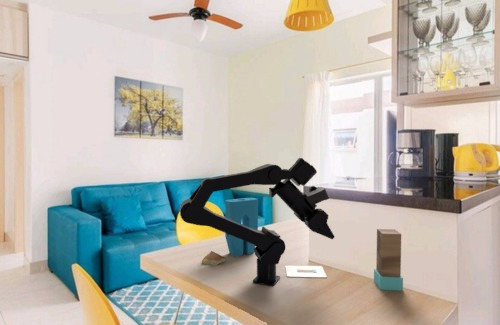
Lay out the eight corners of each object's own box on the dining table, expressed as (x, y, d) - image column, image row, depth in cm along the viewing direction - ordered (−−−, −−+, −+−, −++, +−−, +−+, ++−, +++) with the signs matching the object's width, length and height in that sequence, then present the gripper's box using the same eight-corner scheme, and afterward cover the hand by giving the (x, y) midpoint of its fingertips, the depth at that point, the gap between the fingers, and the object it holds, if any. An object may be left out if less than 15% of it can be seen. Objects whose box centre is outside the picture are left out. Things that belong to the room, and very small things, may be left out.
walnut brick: (400, 277, 88) (401, 234, 87) (381, 276, 88) (382, 233, 88) (394, 270, 93) (394, 229, 92) (376, 269, 93) (377, 229, 93)
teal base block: (402, 290, 87) (403, 278, 87) (380, 289, 88) (380, 277, 88) (395, 281, 93) (395, 269, 93) (373, 280, 94) (374, 268, 94)
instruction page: (327, 277, 96) (327, 276, 96) (287, 277, 97) (287, 276, 97) (321, 266, 105) (321, 265, 105) (285, 266, 106) (285, 265, 106)
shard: (211, 254, 119) (211, 249, 119) (231, 256, 117) (231, 251, 117) (200, 264, 108) (200, 259, 108) (222, 266, 107) (222, 261, 107)
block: (251, 248, 125) (251, 197, 124) (258, 251, 120) (258, 199, 120) (224, 253, 118) (224, 200, 117) (231, 257, 114) (230, 202, 113)
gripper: (321, 181, 86) (360, 222, 87) (304, 175, 104) (336, 209, 106) (292, 210, 85) (331, 250, 87) (280, 199, 104) (312, 233, 105)
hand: (328, 233), depth 96 cm, fingers open, 9 cm apart
